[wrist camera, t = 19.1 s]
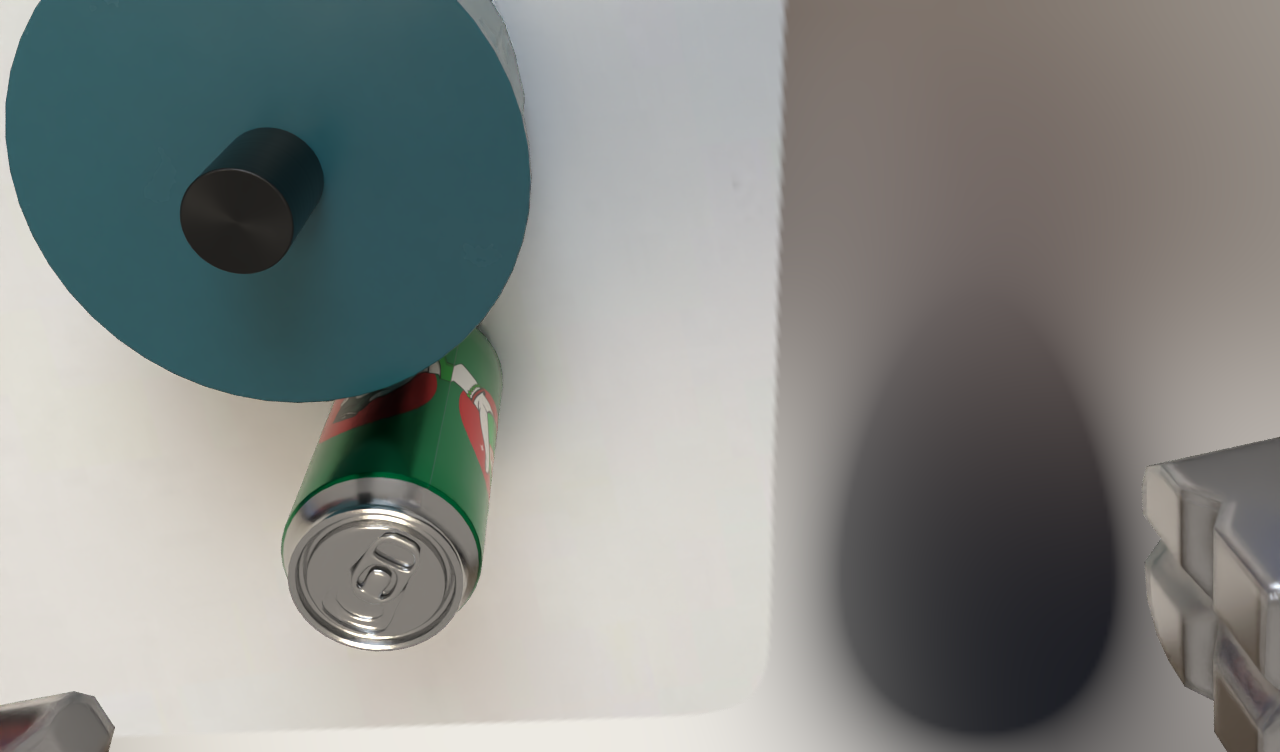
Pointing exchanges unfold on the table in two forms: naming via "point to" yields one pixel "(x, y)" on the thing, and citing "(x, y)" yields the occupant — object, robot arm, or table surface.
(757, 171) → the table surface
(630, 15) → the table surface
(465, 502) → the soda can
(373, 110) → the pan lid
